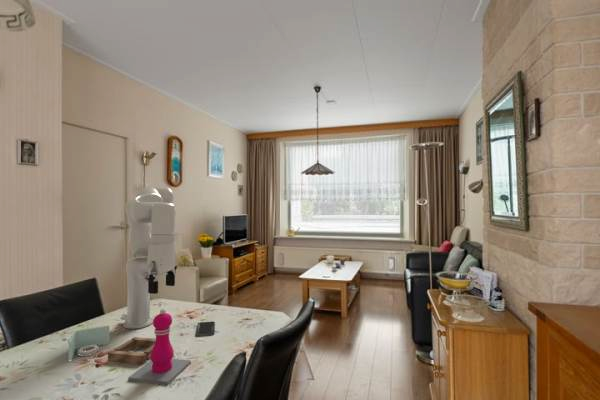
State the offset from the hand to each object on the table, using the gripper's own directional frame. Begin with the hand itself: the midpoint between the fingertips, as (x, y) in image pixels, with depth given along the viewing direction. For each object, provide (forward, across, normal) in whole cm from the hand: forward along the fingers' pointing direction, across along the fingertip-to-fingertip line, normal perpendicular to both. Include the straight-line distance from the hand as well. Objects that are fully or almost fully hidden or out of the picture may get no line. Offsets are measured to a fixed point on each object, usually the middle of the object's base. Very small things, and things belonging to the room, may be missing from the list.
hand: (162, 289), depth 109 cm
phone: (+28, -36, -2) cm, 46 cm away
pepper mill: (+27, 0, +1) cm, 27 cm away
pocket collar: (+28, -10, -16) cm, 33 cm away
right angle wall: (+29, -8, -35) cm, 46 cm away
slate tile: (+28, 0, 0) cm, 28 cm away
